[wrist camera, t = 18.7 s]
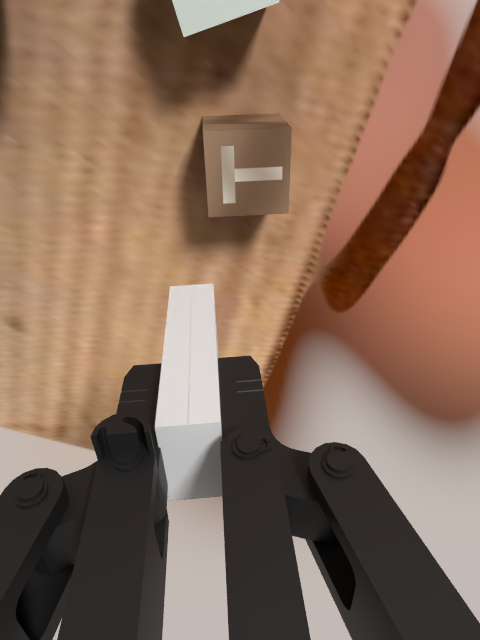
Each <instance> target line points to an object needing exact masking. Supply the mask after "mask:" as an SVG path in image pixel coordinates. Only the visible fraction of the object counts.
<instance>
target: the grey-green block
mask: <svg viewBox="0 0 480 640" xmlns="http://www.w3.org/2000/svg"><path fill="white" fill-rule="evenodd" d="M172 2H173V5H174V8H175V11H176V15H177V18H178V21H179V24H180V27H181V30H182V33H183V37H186V36H189V35H192V34H194V33H197V32H200V31H203V30H205V29H208V28H211V27H214V26H216V25H219V24H222V23H224V22H227V21H230V20H233V19H235V18H238V17H241V16H243V15H246V14H249V13H252V12H254V11H257V10H260V9H263V8H265V7H268V6H271V5H273V4H276V3H279V0H172Z"/></svg>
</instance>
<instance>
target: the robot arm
mask: <svg viewBox="0 0 480 640" xmlns="http://www.w3.org/2000/svg"><path fill="white" fill-rule="evenodd" d="M91 440H92V443H93V446H94V449H95V452H96V455H97V459H98V461H96V462H95V463H93V464H92V465H90V466H88V467H86V468H84V469H81V470H79V471H76V472H73V473H71V474H68V475H65V476H62V477H61V476H60V475H59V474H58V472H57V471H55V470H52V469H48V468H39V469H34V470H31V471H28V472H25V473H23V474H21V475H20V476H18V477H17V478H15V479H14V480H13V481H12V482H11V483H10V484H9V485H8V486H7V487H6V488H5V489H4V491H3V492H2V494H1V495H0V640H52V639H53V637H54V635H55V632H56V630H57V628H58V625H59V623H60V621H61V619H62V621H61V626H60V630H59V634H58V639H57V640H162V629H163V613H164V595H165V577H166V561H167V560H166V559H167V544H168V527H169V520H168V514H167V509H166V506H167V492H168V497H169V501H174V500H186V499H197V498H208V497H220V496H222V497H223V519H224V538H225V539H224V540H225V562H226V583H227V605H228V625H229V640H311V639H310V634H309V628H308V622H307V617H306V611H305V606H304V600H303V595H302V589H301V583H300V578H299V572H298V567H297V562H296V556H295V550H294V545H293V539H292V536H296V537H300V538H304V539H306V541H307V544H308V546H309V548H310V550H311V552H312V554H313V557H314V559H315V561H316V563H317V565H318V567H319V569H320V571H321V574H322V576H323V578H324V580H325V582H326V584H327V587H328V589H329V591H330V593H331V595H332V597H333V599H334V601H335V604H336V606H337V608H338V610H339V612H340V614H341V616H342V619H343V621H344V623H345V625H346V627H347V629H348V631H349V633H350V636H351V638H352V640H480V623H479V622H478V620H477V619H476V617H475V616H474V615H473V613H472V612H471V611H470V609H469V607H468V606H467V604H466V603H465V602H464V600H463V599H462V597H461V596H460V594H459V593H458V592H457V590H456V589H455V587H454V586H453V585H452V583H451V581H450V580H449V579H448V577H447V576H446V574H445V573H444V571H443V570H442V569H441V567H440V566H439V564H438V563H437V561H436V560H435V558H434V557H433V556H432V554H431V553H430V551H429V550H428V548H427V547H426V546H425V544H424V543H423V541H422V540H421V538H420V537H419V535H418V534H417V533H416V531H415V530H414V528H413V527H412V525H411V524H410V523H409V521H408V520H407V518H406V517H405V515H404V514H403V512H402V511H401V510H400V508H399V507H398V505H397V504H396V503H395V501H394V500H393V498H392V497H391V496H390V494H389V492H388V491H387V489H386V488H385V487H384V485H383V484H382V482H381V481H380V480H379V478H378V477H377V475H376V474H375V472H374V471H373V469H372V468H371V466H370V465H369V464H368V462H367V461H366V459H365V458H364V457H363V456H362V455H361V454H360V453H359V452H358V451H357V450H356V449H354V448H352V447H351V446H349V445H347V444H342V443H336V442H333V443H325V444H323V445H321V446H319V447H317V448H316V449H315V450H314V451H313V452H312V453H309V452H303V451H299V450H295V449H291V448H288V447H286V446H285V445H283V444H281V443H280V442H279V441H278V440H276V438H275V437H274V436H273V434H272V432H271V429H270V426H269V420H268V414H267V408H266V403H265V397H264V392H263V386H262V381H261V374H260V369H259V365H258V364H257V363H256V362H255V361H254V360H253V358H252V357H251V356H241V357H227V358H219V355H218V340H217V327H216V314H215V301H214V288H213V284H201V285H186V286H171V287H170V294H169V303H168V312H167V321H166V330H165V339H164V348H163V357H162V363H161V364H148V365H135V366H133V367H132V368H131V370H130V371H129V372H128V373H127V375H126V376H125V377H124V381H123V386H122V393H121V395H120V400H119V404H118V409H117V414H116V415H112V416H110V417H108V418H107V419H105V420H103V421H102V422H101V423H100V424H98V425H97V426H96V427H95V429H94V431H93V432H92V434H91Z"/></svg>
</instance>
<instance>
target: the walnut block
mask: <svg viewBox="0 0 480 640" xmlns="http://www.w3.org/2000/svg"><path fill="white" fill-rule="evenodd" d="M291 129H292V128H291V127H290V126H289V124H288V123H287V122H286V121H285V120H284V119H283V118H282V117H281V116H280V114H255V115H229V116H204V117H203V141H204V157H205V172H206V187H207V202H208V217H226V216H246V215H266V214H286V213H288V211H289V184H290V156H291Z"/></svg>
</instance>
